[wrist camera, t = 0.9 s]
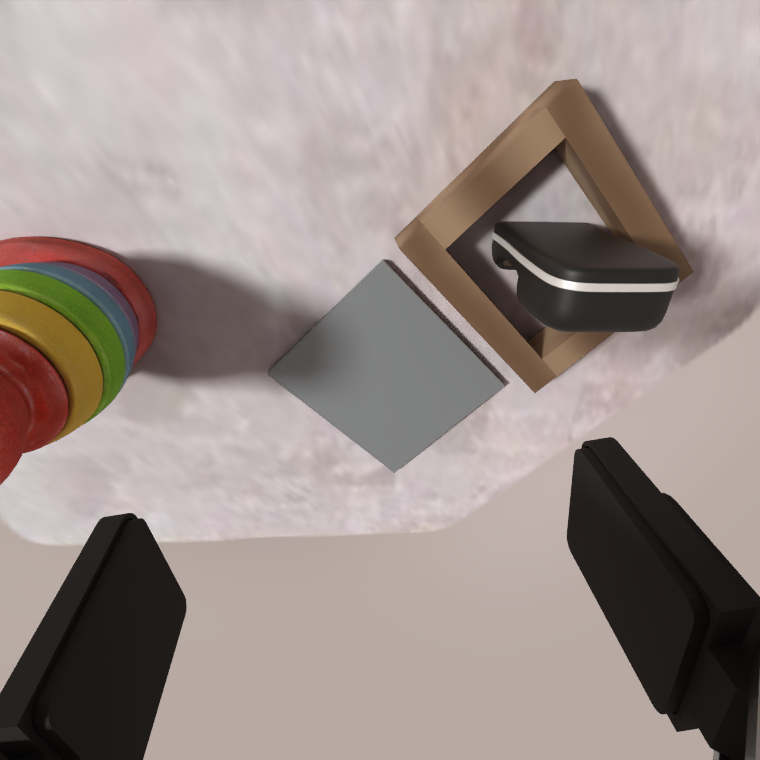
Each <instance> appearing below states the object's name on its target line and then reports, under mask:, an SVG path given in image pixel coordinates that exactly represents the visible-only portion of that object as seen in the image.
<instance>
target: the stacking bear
mask: <svg viewBox="0 0 760 760" xmlns="http://www.w3.org/2000/svg"><path fill="white" fill-rule="evenodd" d="M156 327H157V317H156V310H155V306H154V303H153V300H152V298H151V296H150V294H149V292H148V290H147V289H146V287H145V286H144V284H143V283H142V281H141V280H140V279H139V278H138V276H137V275H136V274H135V273H134V272H133V271H132V270H131V269H130V268H129V267H127V266H126V265H125V264H124V263H122V262H121V261H119V260H118V259H116V258H115V257H113V256H112V255H110V254H108V253H105V252H103V251H101V250H98V249H95V248H93V247H90V246H87V245H84V244H80V243H77V242H72V241H68V240H63V239H57V238H48V237H18V238H11V239H6V240H2V241H0V485H1V484H2V483H3V482H4V480H5V479H6V478H7V477H8V476H9V475H10V473H11V472H12V471H13V469H14V468H15V466H16V465H17V463H18V461H19V459H20V458H21V456H22V453H26V452H30V451H34V450H36V449H39V448H41V447H43V446H45V445H48V444H50V443H52V442H55V441H57V440H59V439H61V438H62V437H64V436H66V435H68V434H69V433H71V432H72V431H74V430H75V429H77V428H78V427H80V426H81V425H83V424H85V423H87V422H88V421H90V420H91V419H92V418H94V417H95V416H96V415H98V414H99V413H100V412H101V411H102V410H104V409H105V408H106V407H107V406H108V405H109V404H110V403H111V402H112V401H113V400H114V398H115V397H116V396H117V394H118V393H119V392H120V390H121V389H122V387H123V385H124V384H125V382H126V380H127V378H128V375H129V373H130V371H131V368H132V366H133V365H134V364H135V363H136V362H137V361H139V359H140V358H141V357H142V356H143V355H144V353H145V352H146V351H147V350H148V348H149V347H150V345H151V343H152V342H153V339H154V336H155V333H156Z"/></svg>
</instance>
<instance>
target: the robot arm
mask: <svg viewBox="0 0 760 760" xmlns="http://www.w3.org/2000/svg"><path fill="white" fill-rule="evenodd" d="M567 541H568V546H569V549H570V551H571V553H572V555H573V557H574V559H575V561H576V563H577V565H578V566H579V568H580V570H581V572H582V574H583V576H584V578H585V579H586V581H587V583H588V585H589V587H590V589H591V591H592V593H593V594H594V596H595V598H596V600H597V602H598V604H599V605H600V607H601V609H602V611H603V613H604V615H605V617H606V619H607V620H608V622H609V624H610V626H611V628H612V630H613V632H614V633H615V635H616V637H617V639H618V641H619V643H620V645H621V647H622V648H623V650H624V652H625V654H626V656H627V658H628V660H629V662H630V663H631V665H632V667H633V669H634V671H635V673H636V674H637V676H638V678H639V680H640V682H641V684H642V686H643V688H644V689H645V691H646V693H647V695H648V697H649V699H650V701H651V703H652V704H653V706H654V708H655V709H656V710H657V711H658V712H659V713H660V714H667V715H668V717H669V718H670V720H671V722H672V724H673V726H674V727H675V729H676V731H677V732H679V731H685V730H692V729H698V728H699V729H700V731H701V733H702V735H703V736H704V738H705V740H706V741H707V743H708V745H709V746H710V748H712V749H713V750H714V755H713V760H760V597H759V595H757V593H756V592H755V591H754V590H753V589H752V587H751V586H750V585H749V584H748V583H747V582H746V581H745V580H744V578H743V577H741V575H740V574H739V573H738V571H737V570H736V569H735V568H734V567H733V566H732V565H731V563H730V562H729V561H728V560H727V559H726V558H725V557H724V555H723V554H722V553H721V552H720V551H719V550H718V549H717V548H716V546H714V544H713V543H712V542H711V541H710V539H709V538H708V537H707V536H706V535H705V534H704V533H703V532H702V530H701V529H700V528H699V527H698V526H697V525H696V523H695V522H694V521H693V520H692V519H691V518H690V516H689V515H688V514H687V513H686V512H685V511H684V510H683V509H682V507H681V506H680V505H679V504H678V503H677V502H676V501H675V500H674V499H673V498H672V497H671V496H669V495H667V494H665V493H661V492H660V491H659V490H658V488H657V487H656V486H655V485H654V484H653V483H652V481H651V480H650V479H649V478H648V477H647V476H646V475H645V473H644V472H643V471H642V470H641V469H640V467H639V466H638V465H637V464H636V463H635V462H634V460H633V459H632V458H631V457H630V456H629V454H628V453H627V452H626V451H625V450H624V449H623V447H622V446H621V445H620V444H619V443H618V442H617V441H616V440H615V439H614V438H611V437H609V438H603V439H597V440H590V441H585V442H584V443H583V444H582V448H581V449H577V450H576V451H575V455H574V465H573V476H572V487H571V497H570V507H569V518H568V528H567ZM185 613H186V599H185V596H184V594H183V592H182V590H181V588H180V586H179V584H178V583H177V581H176V579H175V577H174V575H173V573H172V571H171V569H170V567H169V565H168V563H167V561H166V560H165V558H164V556H163V554H162V552H161V550H160V548H159V546H158V544H157V542H156V541H155V539H154V537H153V535H152V533H151V531H150V529H149V527H148V525H147V523H146V522H145V520H144V519H142V518H140V519H138V518H137V517H136V515H134V514H133V513H127V514H121V515H114V516H108V517H103V518H102V519H100V520H99V522H98V523H97V525H96V527H95V528H94V530H93V532H92V534H91V535H90V537H89V539H88V541H87V542H86V544H85V546H84V548H83V549H82V551H81V553H80V555H79V557H78V558H77V560H76V562H75V563H74V565H73V567H72V569H71V570H70V572H69V574H68V576H67V577H66V579H65V581H64V583H63V585H62V586H61V588H60V590H59V591H58V593H57V595H56V597H55V599H54V600H53V602H52V604H51V605H50V607H49V609H48V611H47V612H46V615H45V616H44V618H43V620H42V621H41V623H40V625H39V627H38V628H37V630H36V632H35V634H34V635H33V637H32V639H31V641H30V642H29V644H28V646H27V648H26V649H25V651H24V653H23V655H22V656H21V658H20V660H19V662H18V663H17V665H16V667H15V669H14V671H13V672H12V674H11V676H10V677H9V679H8V681H7V683H6V684H5V686H4V688H3V690H2V691H1V693H0V760H143V757H144V754H145V751H146V747H147V744H148V740H149V737H150V734H151V730H152V727H153V723H154V720H155V716H156V713H157V710H158V706H159V703H160V699H161V696H162V693H163V689H164V686H165V682H166V679H167V675H168V672H169V669H170V665H171V662H172V658H173V655H174V651H175V648H176V645H177V641H178V638H179V635H180V631H181V628H182V624H183V621H184V617H185Z"/></svg>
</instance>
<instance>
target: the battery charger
mask: <svg viewBox="0 0 760 760" xmlns="http://www.w3.org/2000/svg"><path fill="white" fill-rule="evenodd" d="M492 239H493V242H492V256H493V260H494V262H495V264H496V265H497V266H498V267H500V268H502V269H508V270H516V271H517V273H518V276H519V277H518V283H517V297H518V300H519V301H520V302H521V303H522V304H523V305H524V306H525V308H526V309H527V310H528V311H529V312H530V313H531V314H532V315H533V316H535V317H536V318H537V319H538V320H539V321H541V322H542V323H543V324H545V325H546V326H548V327H550V328H552V329H555V330H557V331H562V332H637V331H647V330H650V329H653V328H655V327H656V326H657V325H658V324H659V323H660V322H661V321H662V320H663V318H664V316H665V313H666V311H667V308H668V305H669V302H670V299H671V297H672V294H673V291H674V290H675V289H676V288H677V286H678V283H679V278H678V276H679V273H680V269H679V266H678V265H677V264H676V263H674V262H673V261H671V260H669V259H667V258H665V257H663V256H660V255H658V254H656V253H654V252H652V251H649V250H647V249H645V248H643V247H640V246H638V245H636V244H633V243H631V242H628V241H626V240H624V239H621V238H619V237H616V236H614V235H611V234H609V233H606V232H604V231H602V230H600V229H597V228H595V227H593V226H591V225H589V224H586V223H552V222H498V223H497V224H496V225H495V228H494V232H493V233H492Z"/></svg>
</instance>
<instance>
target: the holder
mask: <svg viewBox="0 0 760 760" xmlns="http://www.w3.org/2000/svg"><path fill="white" fill-rule="evenodd" d="M553 149H555V150H556V152H557V153H558V155H559V156H560V158H561V159H562V161H563V162H564V164H565V165H566V167H567V168H568V170H569V171H570V173H571V174H572V176H573V177H574V179H575V180H576V181H577V183H578V184H579V186H580V187H581V189H582V190H583V192H584V193H585V195H586V196H587V198H588V199H589V201H590V202H591V204H592V205H593V207H594V208H595V210H596V211H597V213H598V214H599V216H600V217H601V219H602V220H603V222H604V223H605V225H606V226H607V228H608V229H609V231H610V232H611V233H612V235H614V236H616V237H619V238H621V239H624V240H626V241H628V242H631V243H633V244H636V245H638V246H640V247H643V248H645V249H647V250H649V251H652V252H654V253H656V254H658V255H660V256H663V257H665V258H667V259H669V260H671V261H673V262H674V263H676V264H677V265H678V266H679V269H680V273H679V276H678V278H679V283H680V282H681V281H682V280H683V279H685V278H686V277H687V276H689V275H690V274H691V273H693V270H692V268H691V267H690V265H689V263H688V262H687V260H686V258H685V257H684V255H683V254H682V252H681V250H680V249H679V247H678V245H677V244H676V242H675V240H674V239H673V237H672V235H671V234H670V232H669V230H668V229H667V227H666V225H665V224H664V222H663V220H662V219H661V217H660V215H659V214H658V212H657V210H656V209H655V207H654V206H653V204H652V202H651V201H650V199H649V197H648V196H647V194H646V192H645V191H644V189H643V187H642V186H641V184H640V182H639V181H638V179H637V177H636V176H635V174H634V172H633V171H632V169H631V167H630V166H629V164H628V162H627V161H626V159H625V158H624V156H623V154H622V153H621V151H620V149H619V148H618V146H617V144H616V143H615V141H614V139H613V138H612V136H611V134H610V133H609V131H608V129H607V128H606V126H605V124H604V123H603V121H602V119H601V118H600V116H599V114H598V113H597V111H596V109H595V108H594V106H593V105H592V103H591V101H590V100H589V98H588V96H587V95H586V93H585V91H584V90H583V88H582V86H581V85H580V83H579V81H578V80H577V79H571V80H563V81H555V82H554V83H553V84H552V85H550V86H549V87H548V88H547V89H546V90H545V91H544V92H543V93H542V94H541V95H540V96H539V97H538V98H537V99H536V100H535V101H534V102H533V103H532V104H531V105H530V106H529V107H528V108H527V109H526V110H525V111H524V112H523V113H522V114H521V115H520V116H519V117H518V118H517V119H516V120H515V121H514V122H513V123H512V124H511V125H510V126H509V127H508V128H507V129H506V130H505V131H504V132H502V133H501V134H500V135H499V136H498V137H497V138H496V139H495V140H494V141H493V142H492V143H491V144H490V145H489V146H488V147H487V148H486V149H485V150H484V151H483V152H482V153H481V154H480V155H479V156H478V157H477V158H476V159H475V160H474V161H473V162H472V163H471V164H470V165H469V166H468V167H467V168H466V169H465V170H464V171H463V172H462V173H461V174H460V175H459V176H458V177H457V178H456V179H454V180H453V181H452V182H451V183H450V184H449V185H448V186H447V187H446V188H445V189H444V190H443V191H442V192H441V193H440V194H439V195H438V196H437V197H436V198H435V199H434V200H433V201H432V202H431V203H430V204H429V205H428V206H427V207H426V208H425V209H424V210H423V211H422V212H421V213H420V214H419V215H418V216H417V217H416V218H415V219H414V220H413V221H412V222H411V223H410V224H409V225H408V226H406V227H405V228H404V229H403V230H402V231H401V232H400V233H399V234H398V235H397V236H396V237H395V240H396V242H397V244H398V246H399V249H400V250H401V251H402V252H403V253H404V254H405V255H406V256H407V258H408V259H409V260H410V261H411V262H412V263H413V264H414V265H415V266H416V267H417V268H418V269H419V270H420V271H421V272H422V274H423V275H424V276H425V277H426V278H427V279H428V280H429V281H430V282H431V283H432V284H433V285H434V286H435V287H436V288H437V290H438V291H439V292H440V293H441V294H442V295H443V296H444V297H445V298H446V299H447V300H448V301H449V302H450V303H451V304H452V305H453V307H454V308H455V309H456V310H457V311H458V312H459V313H460V314H461V315H462V316H463V317H464V318H465V319H466V320H467V321H468V323H469V324H470V325H471V326H472V327H473V328H474V329H475V330H476V331H477V332H478V333H479V334H480V335H481V336H482V337H483V338H484V340H485V341H486V342H487V343H488V344H489V345H490V346H491V347H492V348H493V349H494V350H495V351H496V352H497V353H498V354H499V356H500V357H501V358H502V359H503V360H504V361H505V362H506V363H507V364H508V365H509V366H510V367H511V368H512V369H513V370H514V371H515V373H516V374H517V375H518V376H519V377H520V378H521V379H522V380H523V381H524V382H525V383H526V384H527V385H528V386H529V387H530V389H531V390H532V391H533V392H534V393H536V392H537V391H538V390H540V389H541V388H542V387H544V386H545V385H546V384H548V383H549V382H550V381H551V380H553V379H554V378H555V377H557V376H558V375H559V374H561V373H562V372H563V371H565V370H566V369H567V368H568V367H570V366H571V365H572V364H574V363H575V362H576V361H578V360H579V359H580V358H582V357H583V356H584V355H585V354H587V353H588V352H589V351H591V350H592V349H593V348H595V347H596V346H597V345H599V344H600V343H601V342H602V341H604V340H605V339H606V338H608V337H609V336H610V335H612V334H613V333H614V332H562V331H557V330H555V329H552V328H550V327H548V326H546V327H545V328H544V329H542V330H541V331H540V332H539V333H537V334H536V335H535V336H534V337H532V338H531V339H530V340H529V341H528V342H527V341H526V340H525V338H524V337H523V336H522V335H521V334H520V333H519V332H518V331H517V329H516V328H515V327H514V326H513V325H512V324H511V323H510V321H509V320H508V319H507V318H506V317H505V316H504V315H503V314H502V312H501V311H500V310H499V309H498V308H497V307H496V306H495V305H494V303H493V302H492V301H491V300H490V299H489V298H488V297H487V295H486V294H485V293H484V292H483V291H482V290H481V289H480V288H479V286H478V285H477V284H476V283H475V282H474V281H473V280H472V279H471V277H470V276H469V275H468V274H467V273H466V272H465V271H464V269H463V268H462V267H461V266H460V265H459V264H458V263H457V262H456V260H455V259H454V258H453V257H452V256H451V255H450V254H449V253H448V251H447V250H446V248H447V247H449V246H450V245H451V244H452V243H453V242H454V241H455V240H456V239H457V238H458V237H459V236H460V235H461V234H462V233H464V232H465V231H466V230H467V229H468V228H469V227H470V226H471V225H472V224H473V223H474V222H475V221H476V220H478V219H479V218H480V217H481V216H482V215H483V214H484V213H485V212H486V211H487V210H488V209H489V208H490V207H491V206H493V205H494V204H495V203H496V202H497V201H498V200H499V199H500V198H501V197H502V196H503V195H504V194H505V193H506V192H508V191H509V190H510V189H511V188H512V187H513V186H514V185H515V184H516V183H517V182H518V181H519V180H520V179H522V178H523V177H524V176H525V175H526V174H527V173H528V172H529V171H530V170H531V169H532V168H533V167H534V166H535V165H537V164H538V163H539V162H540V161H541V160H542V159H543V158H544V157H545V156H546V155H547V154H548V153H549V152H551V151H552V150H553Z"/></svg>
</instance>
